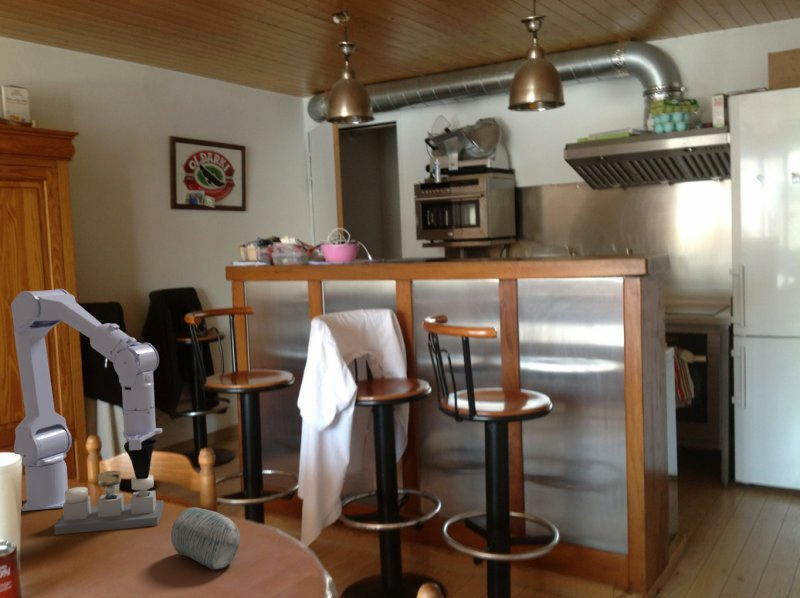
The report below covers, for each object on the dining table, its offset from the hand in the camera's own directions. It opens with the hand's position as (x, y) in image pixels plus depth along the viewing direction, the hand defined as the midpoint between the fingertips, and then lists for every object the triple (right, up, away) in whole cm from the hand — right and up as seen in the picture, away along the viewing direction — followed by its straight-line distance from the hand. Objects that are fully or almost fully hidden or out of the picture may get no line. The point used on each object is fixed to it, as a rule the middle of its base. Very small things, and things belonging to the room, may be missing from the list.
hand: (142, 477), depth 145 cm
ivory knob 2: (0, -5, 0) cm, 5 cm away
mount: (-6, -8, -1) cm, 10 cm away
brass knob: (-6, -4, -1) cm, 7 cm away
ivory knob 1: (-12, -7, -2) cm, 14 cm away
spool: (+18, -9, -21) cm, 28 cm away
